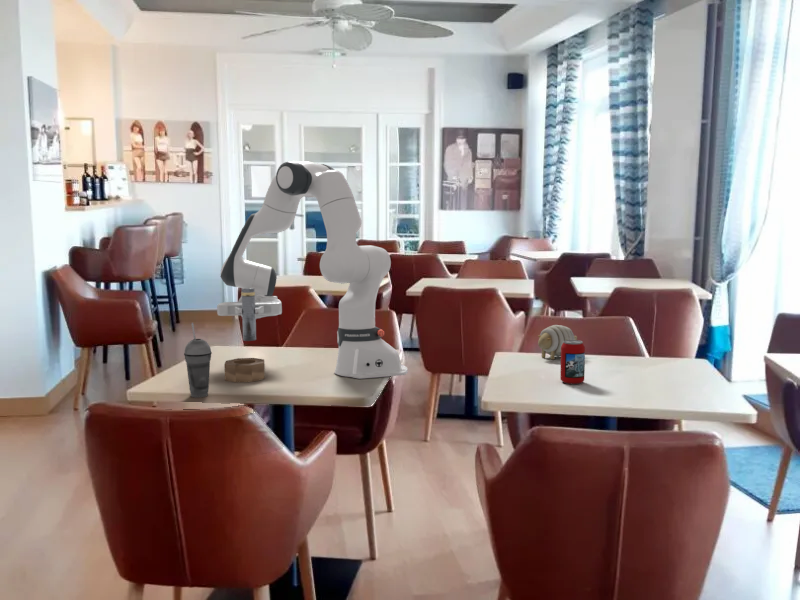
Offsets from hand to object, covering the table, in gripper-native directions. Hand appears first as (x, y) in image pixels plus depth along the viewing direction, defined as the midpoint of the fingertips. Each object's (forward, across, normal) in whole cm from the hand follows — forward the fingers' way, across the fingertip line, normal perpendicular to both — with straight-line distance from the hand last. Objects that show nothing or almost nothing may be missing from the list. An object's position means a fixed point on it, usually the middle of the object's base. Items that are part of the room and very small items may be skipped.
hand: (248, 311), depth 236 cm
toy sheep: (-5, +102, +19) cm, 104 cm away
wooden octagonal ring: (+10, -1, +19) cm, 21 cm away
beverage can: (+31, +93, +19) cm, 100 cm away
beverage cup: (+30, -12, +19) cm, 37 cm away
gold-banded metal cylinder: (-1, 0, +9) cm, 9 cm away
